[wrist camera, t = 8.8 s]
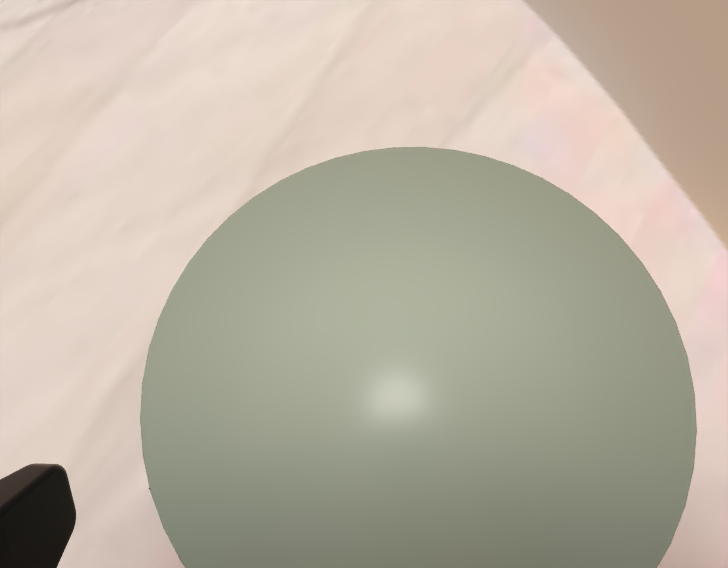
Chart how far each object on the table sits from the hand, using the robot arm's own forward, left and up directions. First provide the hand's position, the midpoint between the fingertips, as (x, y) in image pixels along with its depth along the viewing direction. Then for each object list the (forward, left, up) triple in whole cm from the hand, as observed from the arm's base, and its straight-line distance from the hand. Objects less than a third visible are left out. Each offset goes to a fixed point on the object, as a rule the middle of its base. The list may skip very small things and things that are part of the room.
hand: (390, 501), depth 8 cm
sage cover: (+1, -1, -8) cm, 9 cm away
